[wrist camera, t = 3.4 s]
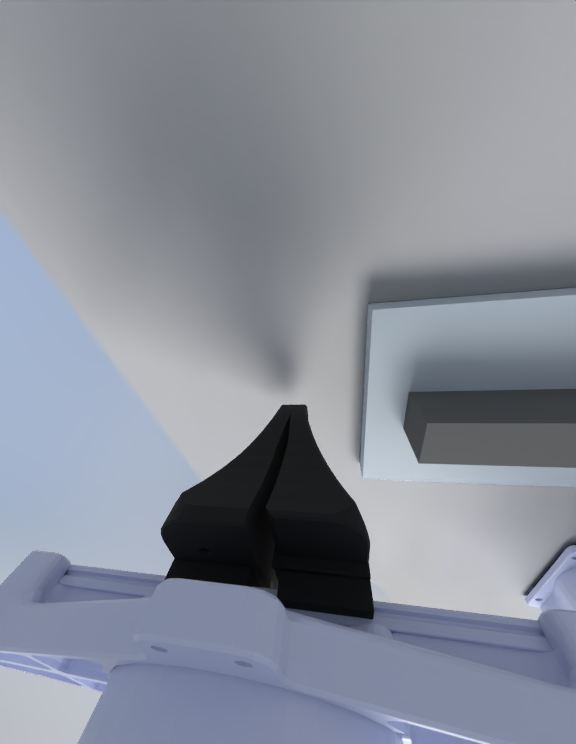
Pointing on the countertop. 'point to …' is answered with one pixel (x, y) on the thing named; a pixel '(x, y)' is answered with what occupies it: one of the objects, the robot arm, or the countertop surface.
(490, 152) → the countertop surface
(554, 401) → the bar
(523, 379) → the channel
